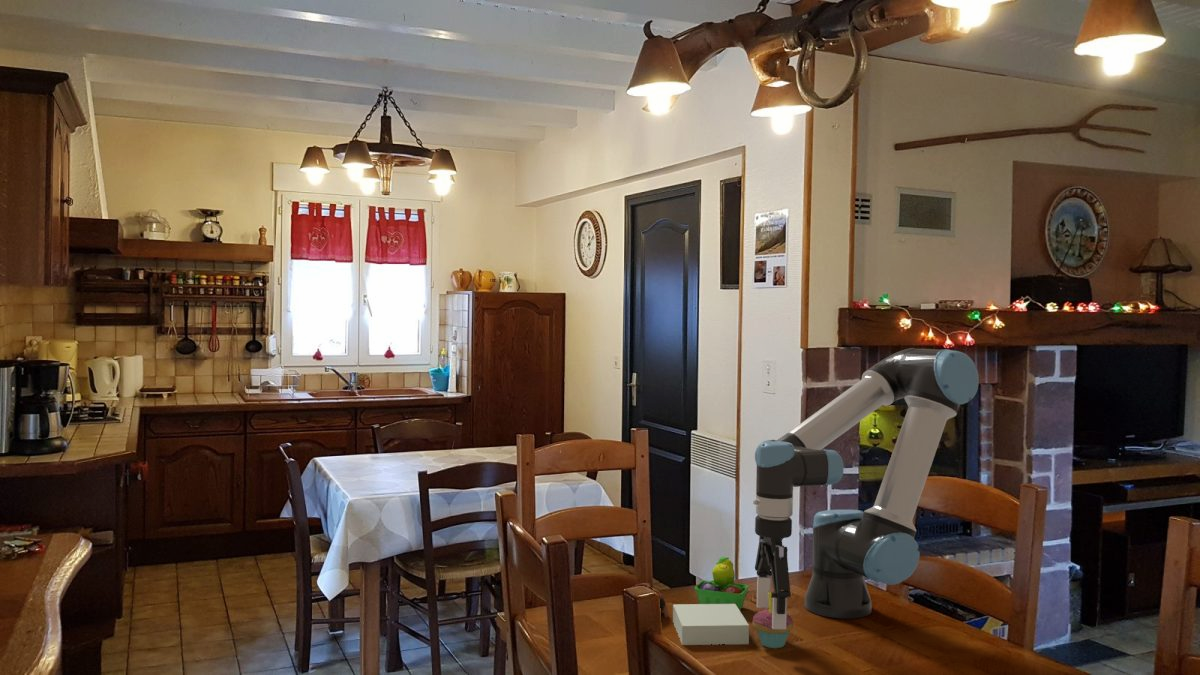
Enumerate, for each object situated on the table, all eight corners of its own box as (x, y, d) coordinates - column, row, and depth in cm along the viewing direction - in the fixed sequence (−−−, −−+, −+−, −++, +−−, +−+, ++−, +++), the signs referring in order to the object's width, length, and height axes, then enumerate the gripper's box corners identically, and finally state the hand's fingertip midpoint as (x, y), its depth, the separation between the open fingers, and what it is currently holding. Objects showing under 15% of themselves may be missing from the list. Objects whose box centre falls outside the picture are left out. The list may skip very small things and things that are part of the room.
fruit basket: (693, 609, 211) (693, 561, 211) (703, 599, 219) (704, 552, 219) (741, 616, 207) (741, 567, 207) (750, 605, 215) (750, 557, 215)
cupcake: (784, 654, 184) (785, 595, 183) (745, 646, 188) (745, 588, 188) (799, 641, 191) (799, 585, 191) (761, 634, 195) (761, 578, 195)
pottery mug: (671, 625, 202) (654, 595, 200) (633, 640, 204) (616, 611, 202) (670, 595, 214) (654, 567, 212) (634, 610, 216) (618, 582, 214)
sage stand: (735, 621, 203) (735, 603, 203) (748, 644, 189) (748, 625, 189) (672, 622, 202) (673, 604, 202) (682, 645, 188) (682, 626, 188)
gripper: (743, 503, 201) (740, 599, 201) (770, 529, 176) (767, 638, 177) (776, 504, 202) (773, 599, 202) (808, 530, 177) (805, 638, 177)
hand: (770, 617), depth 189 cm, fingers open, 13 cm apart
